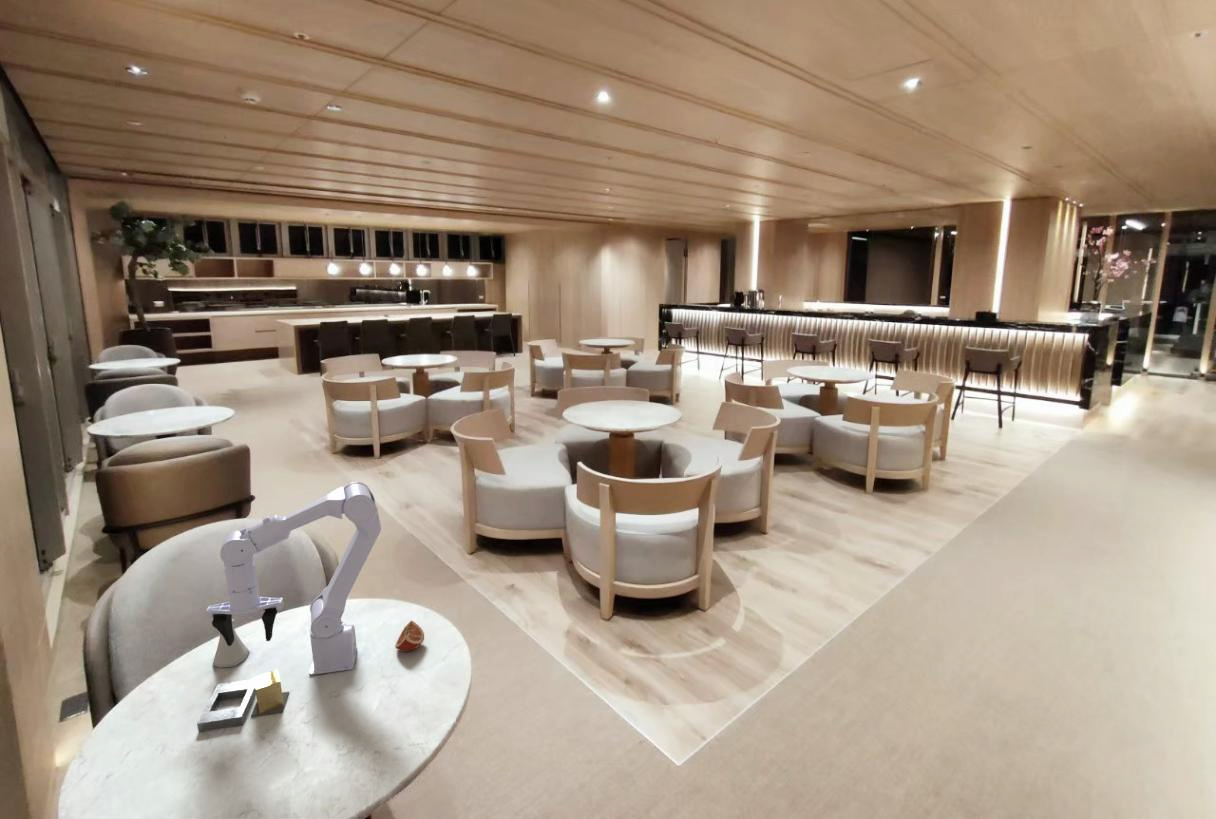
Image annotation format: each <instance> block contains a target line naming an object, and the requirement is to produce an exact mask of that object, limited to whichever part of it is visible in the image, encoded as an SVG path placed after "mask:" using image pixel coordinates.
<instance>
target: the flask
mask: <svg viewBox="0 0 1216 819" xmlns="http://www.w3.org/2000/svg"><path fill="white" fill-rule="evenodd" d="M234 622H235V619H233V618H232V628H233V633H234V642H233V643H232V645H231V646H228V645H227V643H226V641H225V639H224V637H223V636H222V634H221V633H220V632H219V640H218V644H217V648H216V652H215V654H214V658H213V661H212V665H213V666H215V667H218V668H219V669H223V668H232V667H235V666H237V665H239V664H240V663H241V662H244V661H245V660H247V658H248V655H249V654H250V650H249V649H248V647H247V646H246V644H244V643H243V641H242V639H241V638H240V637H239V635H238V633H237V632H236V630H235V629H236V628H235V627H234Z"/></svg>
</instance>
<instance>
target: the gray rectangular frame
mask: <svg viewBox="0 0 1216 819" xmlns="http://www.w3.org/2000/svg"><path fill="white" fill-rule="evenodd" d="M242 698H243V699H242ZM255 698H256V690H255V683H254V678H251V679H246V680H245V679H244V680H237V681H231V682H225V683H217V685H216V687H215V689H214V691H213V692H212V694H211V696H210V698H209V700H208V701H207V704H206V705H205V708H204V709H203V712H202V713H201V715H200V718H199V719H198V721H197V723H196V725H197V731H198V733H202V732H207V731H213V730H214V731H215V730H219V729H220V730H221V729H226V728H227V729H228V728H232V727H233V728H234V727H239V726H243V725H244V723H245V721H246V718H247V716H248V714H249V711H250V709H251V706H252V705H253V703H254V702H253V701H254V700H255ZM236 699H242V702H241V704H240V706H239V707H238V706H237V707H232V708H224V709H219V710H216V709H217V707H218V706H219V704H220V702H222V701H228V700H229V701H230V700H236Z"/></svg>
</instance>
